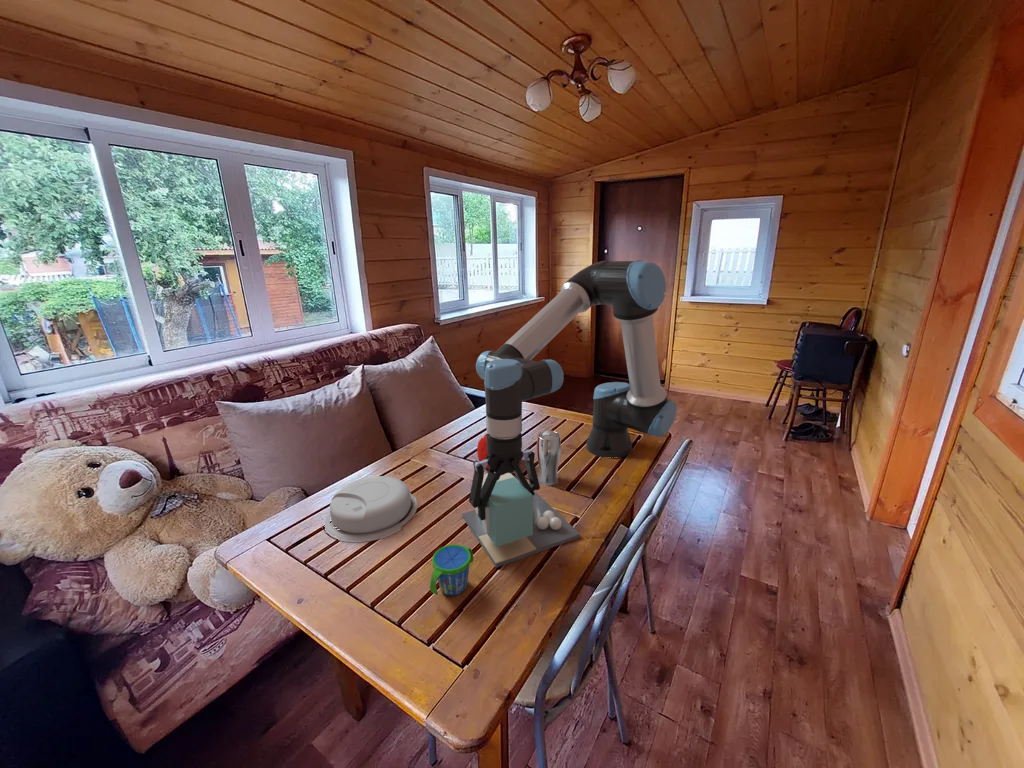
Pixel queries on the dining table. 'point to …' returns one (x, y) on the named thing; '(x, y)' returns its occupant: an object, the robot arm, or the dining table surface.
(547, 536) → the board
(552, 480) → the beer glass
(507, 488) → the seafoam cube
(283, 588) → the dining table surface
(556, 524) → the marble
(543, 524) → the marble
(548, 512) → the marble
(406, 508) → the round ceiling alarm
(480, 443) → the tomato
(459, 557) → the snack cup
